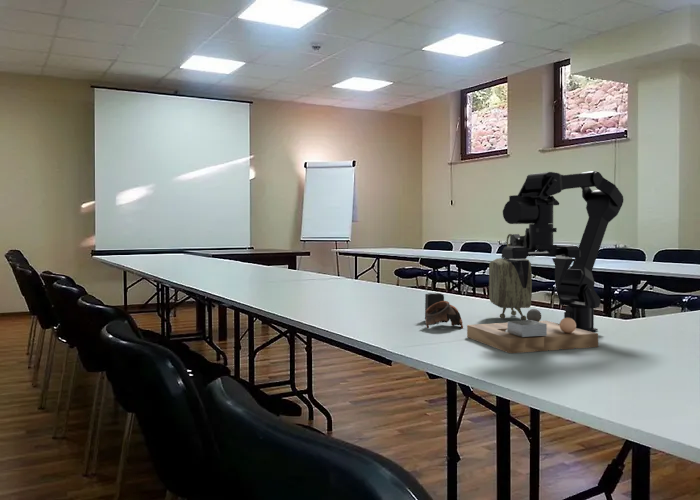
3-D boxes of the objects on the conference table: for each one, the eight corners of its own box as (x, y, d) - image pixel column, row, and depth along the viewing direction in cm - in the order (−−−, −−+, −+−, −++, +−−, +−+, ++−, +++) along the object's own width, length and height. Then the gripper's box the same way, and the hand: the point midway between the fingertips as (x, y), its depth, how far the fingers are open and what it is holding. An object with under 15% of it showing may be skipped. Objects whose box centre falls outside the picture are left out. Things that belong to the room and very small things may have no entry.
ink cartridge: (440, 319, 173) (441, 292, 173) (443, 321, 171) (444, 293, 171) (424, 320, 172) (425, 293, 172) (427, 321, 170) (428, 293, 170)
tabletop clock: (531, 322, 166) (531, 233, 165) (499, 322, 166) (499, 234, 166) (517, 315, 181) (517, 233, 180) (488, 315, 181) (488, 233, 180)
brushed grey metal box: (531, 330, 134) (531, 319, 134) (546, 335, 128) (546, 323, 128) (507, 332, 132) (507, 321, 132) (522, 336, 126) (522, 325, 126)
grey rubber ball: (536, 321, 149) (536, 307, 149) (544, 323, 146) (544, 309, 145) (523, 322, 148) (523, 308, 148) (531, 324, 145) (531, 310, 144)
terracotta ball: (569, 331, 134) (569, 316, 134) (579, 334, 131) (579, 318, 131) (556, 332, 133) (556, 316, 133) (565, 334, 130) (565, 319, 130)
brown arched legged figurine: (468, 332, 155) (455, 306, 153) (436, 347, 156) (422, 322, 154) (461, 314, 166) (448, 290, 164) (430, 328, 168) (418, 304, 166)
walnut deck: (545, 332, 151) (545, 320, 150) (598, 346, 131) (598, 333, 131) (467, 337, 145) (467, 324, 145) (509, 353, 126) (509, 339, 125)
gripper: (554, 224, 155) (554, 283, 155) (490, 224, 150) (490, 285, 151) (581, 223, 144) (581, 287, 145) (513, 224, 139) (513, 289, 140)
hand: (541, 287), depth 145 cm, fingers open, 9 cm apart
